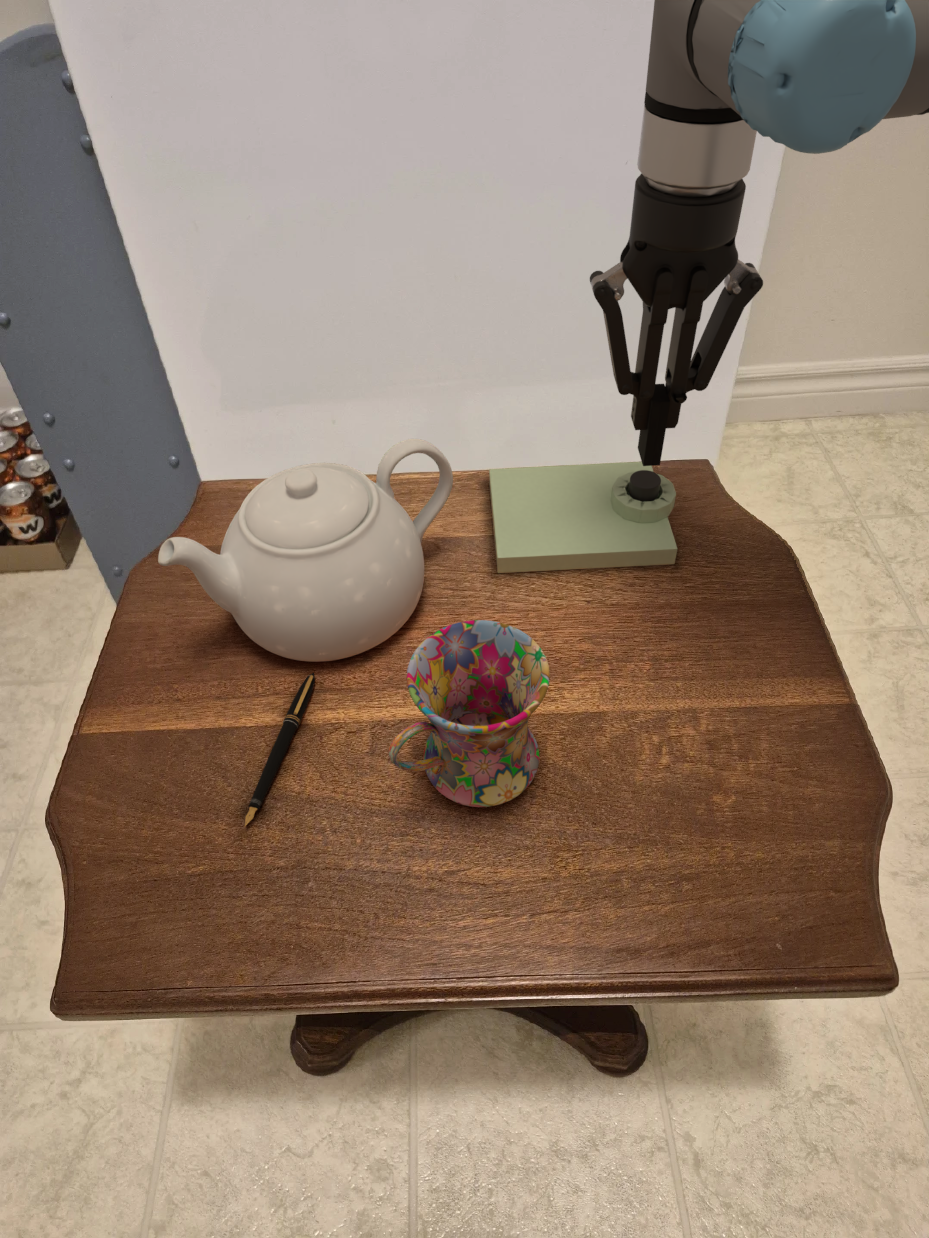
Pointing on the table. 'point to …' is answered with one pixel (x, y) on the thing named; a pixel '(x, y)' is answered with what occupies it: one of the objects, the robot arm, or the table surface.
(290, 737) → the fountain pen
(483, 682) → the mug
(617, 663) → the table surface
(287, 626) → the teapot
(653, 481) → the button
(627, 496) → the scale
